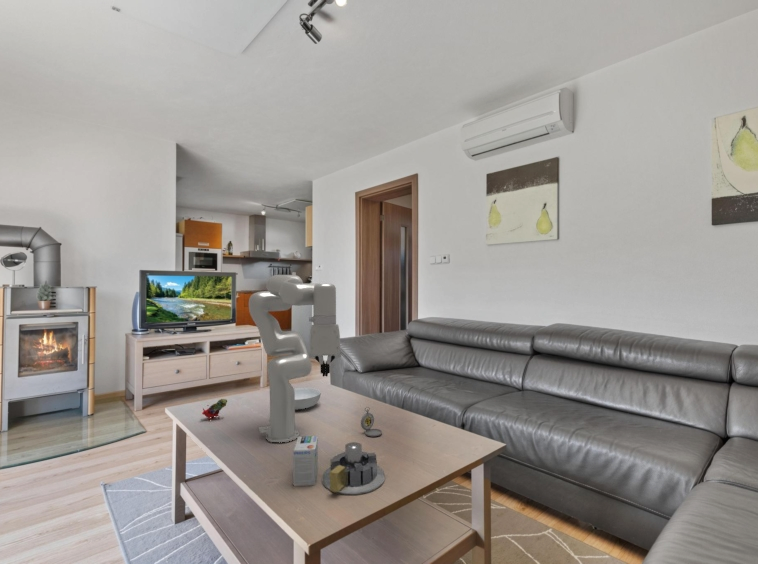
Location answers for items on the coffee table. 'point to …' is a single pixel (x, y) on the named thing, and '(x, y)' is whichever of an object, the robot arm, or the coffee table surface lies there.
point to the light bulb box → (305, 461)
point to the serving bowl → (306, 397)
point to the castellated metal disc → (352, 471)
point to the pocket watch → (369, 425)
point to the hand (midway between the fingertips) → (325, 375)
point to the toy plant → (215, 408)
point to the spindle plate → (356, 488)
